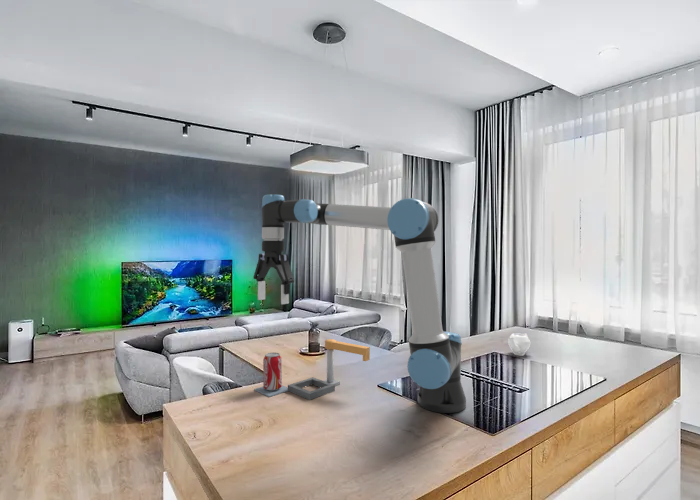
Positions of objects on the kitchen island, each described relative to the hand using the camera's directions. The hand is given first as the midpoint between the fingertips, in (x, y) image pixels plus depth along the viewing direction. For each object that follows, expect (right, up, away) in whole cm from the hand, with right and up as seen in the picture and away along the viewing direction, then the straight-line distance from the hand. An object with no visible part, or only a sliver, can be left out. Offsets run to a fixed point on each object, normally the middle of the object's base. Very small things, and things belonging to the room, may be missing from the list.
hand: (272, 301), depth 141 cm
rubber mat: (0, -31, +1) cm, 31 cm away
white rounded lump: (+105, -31, +48) cm, 119 cm away
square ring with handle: (+15, -31, +2) cm, 34 cm away
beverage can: (0, -31, +1) cm, 31 cm away
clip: (+25, -19, +2) cm, 32 cm away
